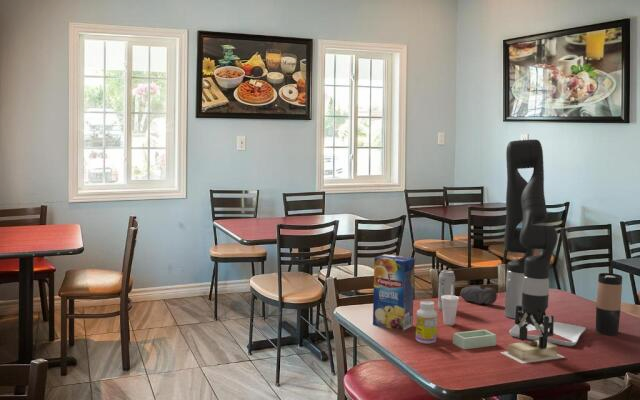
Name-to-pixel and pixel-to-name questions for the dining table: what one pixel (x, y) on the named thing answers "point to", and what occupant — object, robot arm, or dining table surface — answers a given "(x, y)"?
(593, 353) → the dining table surface
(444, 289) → the energy drink can
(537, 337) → the salad plate
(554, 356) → the mat
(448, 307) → the smoothie
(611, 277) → the travel mug
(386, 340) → the dining table surface
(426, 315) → the supplement bottle
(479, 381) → the dining table surface
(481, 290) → the perforated stone tool
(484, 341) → the dish
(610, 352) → the dining table surface
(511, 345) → the lid
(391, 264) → the juice carton
